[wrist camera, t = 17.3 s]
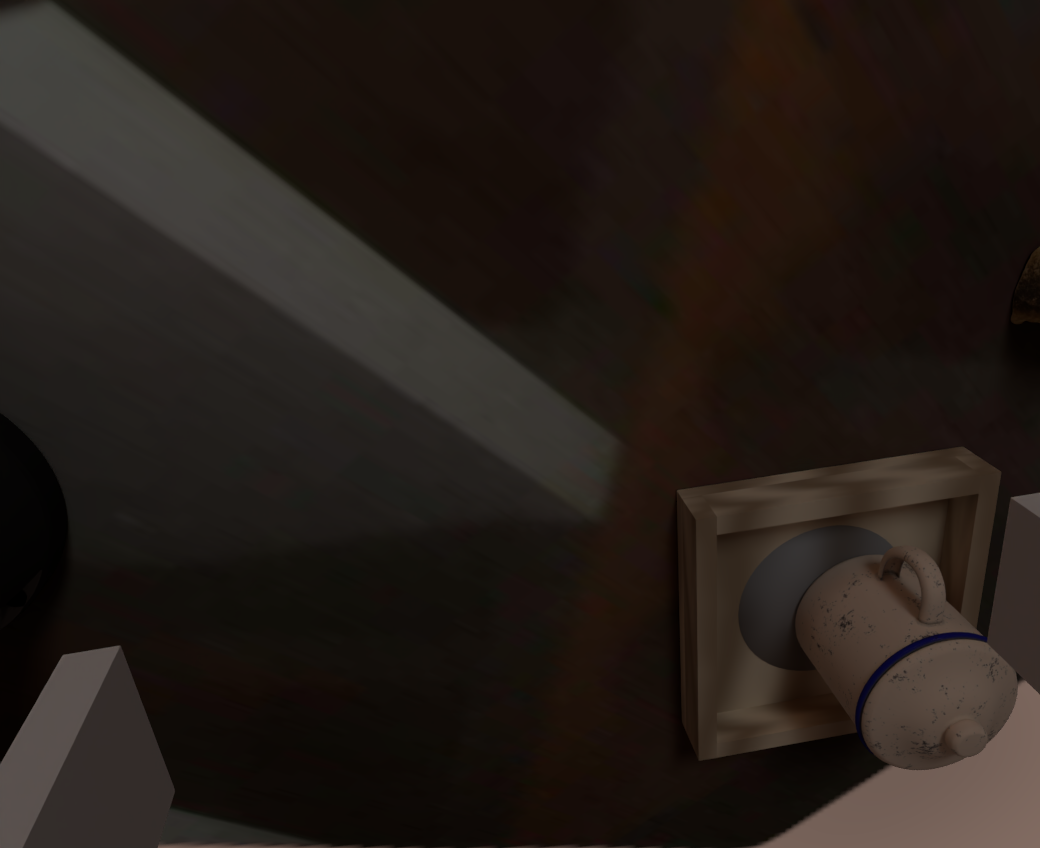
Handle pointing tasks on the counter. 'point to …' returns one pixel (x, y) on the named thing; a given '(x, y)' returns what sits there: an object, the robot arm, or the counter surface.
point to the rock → (1028, 292)
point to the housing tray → (806, 581)
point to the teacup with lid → (904, 660)
